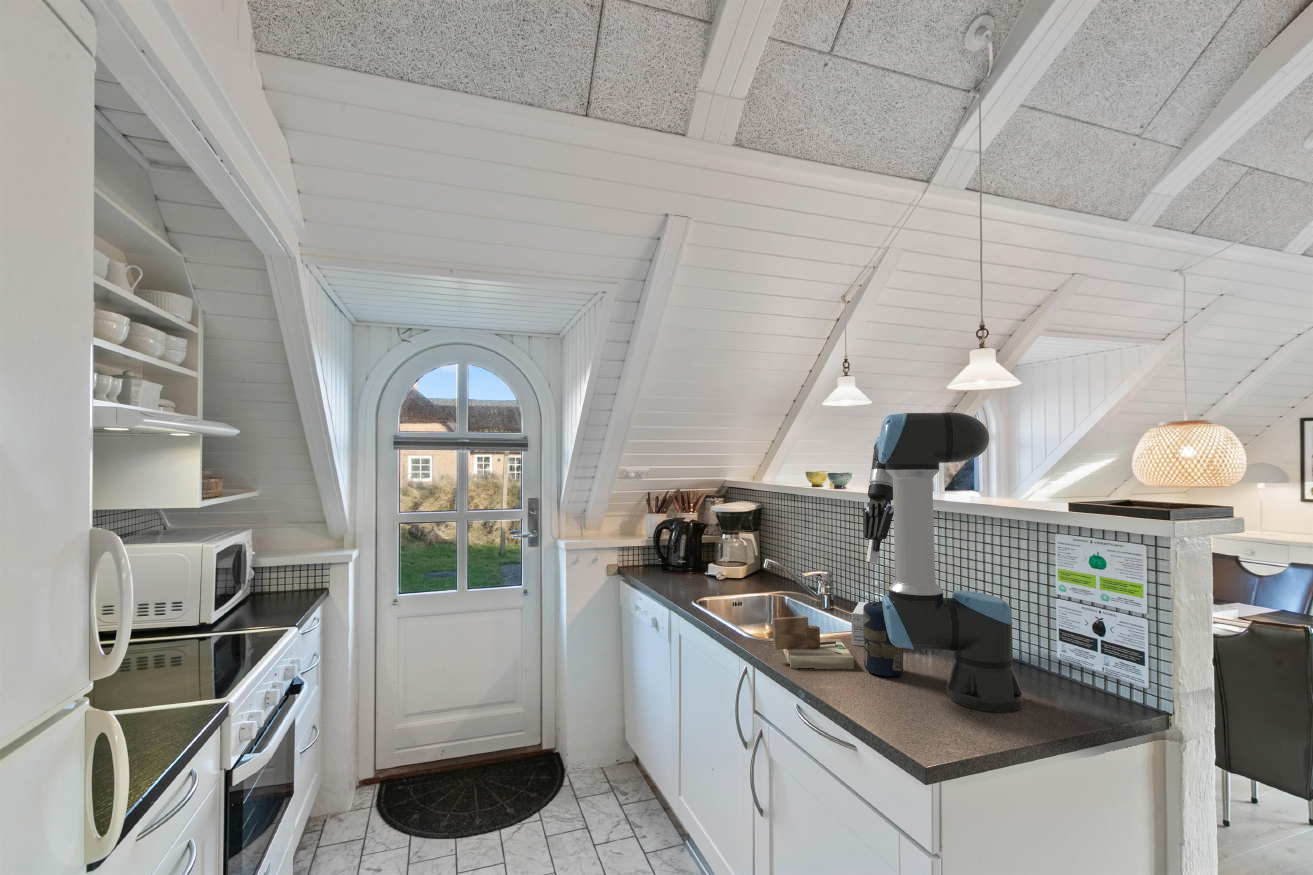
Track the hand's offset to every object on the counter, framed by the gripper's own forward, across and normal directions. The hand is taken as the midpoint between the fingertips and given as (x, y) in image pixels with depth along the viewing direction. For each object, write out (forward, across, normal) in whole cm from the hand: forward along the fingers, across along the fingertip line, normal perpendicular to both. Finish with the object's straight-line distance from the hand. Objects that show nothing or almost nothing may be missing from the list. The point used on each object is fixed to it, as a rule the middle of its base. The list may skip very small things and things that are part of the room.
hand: (871, 562), depth 183 cm
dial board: (+30, -4, +16) cm, 34 cm away
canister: (+30, -18, +6) cm, 35 cm away
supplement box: (+21, +5, -10) cm, 24 cm away
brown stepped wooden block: (+28, -3, +20) cm, 34 cm away
